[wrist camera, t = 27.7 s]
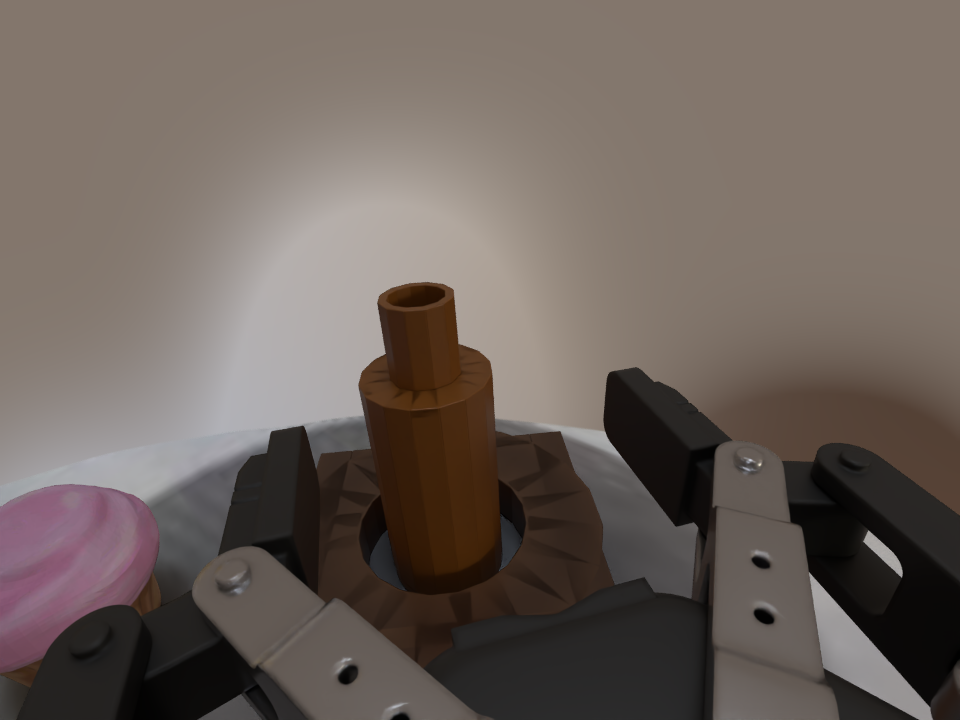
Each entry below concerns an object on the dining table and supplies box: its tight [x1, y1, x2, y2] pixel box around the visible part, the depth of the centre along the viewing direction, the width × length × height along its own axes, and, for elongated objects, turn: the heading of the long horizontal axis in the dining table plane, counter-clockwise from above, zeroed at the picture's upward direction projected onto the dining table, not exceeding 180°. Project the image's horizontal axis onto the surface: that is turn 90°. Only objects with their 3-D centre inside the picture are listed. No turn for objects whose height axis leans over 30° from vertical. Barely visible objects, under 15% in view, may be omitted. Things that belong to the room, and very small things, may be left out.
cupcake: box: [0, 484, 161, 687], centre depth 25 cm, size 9×9×10 cm
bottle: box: [359, 282, 502, 595], centre depth 27 cm, size 6×6×17 cm
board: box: [316, 431, 614, 668], centre depth 31 cm, size 18×18×3 cm
